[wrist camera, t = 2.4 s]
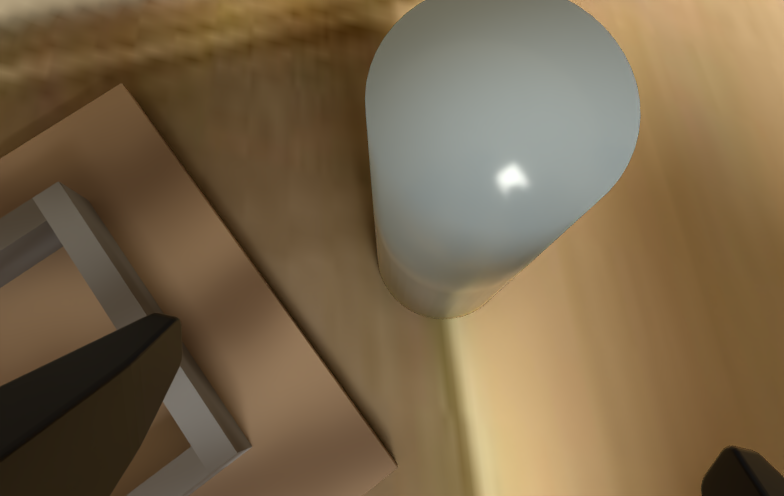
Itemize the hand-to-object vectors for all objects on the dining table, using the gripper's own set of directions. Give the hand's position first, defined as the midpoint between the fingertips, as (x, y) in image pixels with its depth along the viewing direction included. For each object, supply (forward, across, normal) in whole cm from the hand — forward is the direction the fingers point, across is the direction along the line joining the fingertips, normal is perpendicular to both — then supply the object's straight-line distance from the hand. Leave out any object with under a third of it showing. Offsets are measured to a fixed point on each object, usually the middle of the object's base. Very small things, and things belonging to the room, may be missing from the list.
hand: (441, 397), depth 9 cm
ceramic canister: (+12, 0, +5) cm, 13 cm away
